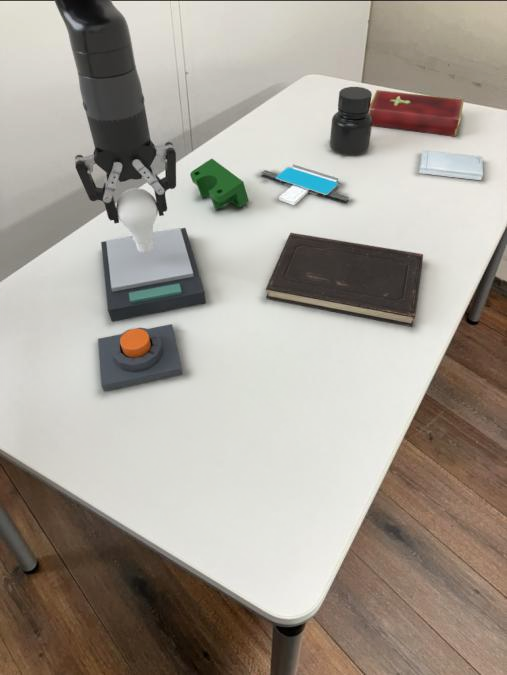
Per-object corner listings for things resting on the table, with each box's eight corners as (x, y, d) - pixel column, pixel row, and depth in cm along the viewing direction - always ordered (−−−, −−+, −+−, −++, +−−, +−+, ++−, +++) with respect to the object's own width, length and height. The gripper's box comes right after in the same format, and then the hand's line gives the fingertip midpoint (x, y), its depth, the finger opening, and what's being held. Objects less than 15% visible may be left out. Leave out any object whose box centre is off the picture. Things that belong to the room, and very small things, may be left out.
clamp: (206, 212, 107) (184, 173, 102) (229, 197, 108) (208, 158, 103) (229, 220, 97) (206, 177, 92) (253, 203, 98) (232, 159, 93)
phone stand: (245, 188, 105) (244, 181, 104) (276, 164, 112) (276, 157, 110) (331, 218, 97) (331, 210, 96) (359, 190, 104) (360, 182, 102)
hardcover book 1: (412, 327, 77) (415, 316, 75) (266, 298, 82) (265, 288, 80) (420, 262, 87) (423, 252, 86) (290, 241, 92) (291, 230, 91)
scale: (111, 321, 79) (106, 306, 77) (104, 253, 91) (99, 237, 89) (206, 303, 82) (204, 287, 79) (187, 238, 94) (184, 223, 91)
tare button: (123, 360, 70) (121, 352, 69) (121, 340, 73) (118, 331, 72) (152, 354, 71) (150, 346, 70) (149, 334, 74) (147, 326, 72)
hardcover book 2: (455, 137, 118) (461, 119, 115) (365, 126, 123) (368, 108, 120) (459, 115, 126) (464, 98, 123) (374, 105, 131) (376, 88, 128)
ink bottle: (370, 139, 119) (378, 85, 110) (370, 157, 113) (379, 102, 104) (328, 137, 120) (332, 84, 111) (326, 155, 114) (331, 100, 105)
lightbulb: (122, 247, 83) (107, 186, 75) (157, 236, 85) (146, 176, 77) (133, 267, 80) (119, 206, 72) (170, 256, 82) (160, 195, 74)
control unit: (103, 391, 70) (98, 378, 68) (100, 345, 76) (95, 331, 74) (182, 374, 72) (180, 360, 70) (173, 330, 78) (170, 316, 76)
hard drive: (482, 155, 109) (422, 148, 112) (483, 174, 104) (420, 166, 106) (480, 162, 110) (421, 155, 113) (480, 181, 105) (419, 174, 108)
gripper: (166, 87, 69) (181, 196, 81) (57, 100, 67) (89, 211, 79) (174, 109, 64) (189, 222, 76) (57, 125, 62) (91, 238, 74)
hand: (138, 216), depth 78 cm, fingers closed on lightbulb, 6 cm apart
